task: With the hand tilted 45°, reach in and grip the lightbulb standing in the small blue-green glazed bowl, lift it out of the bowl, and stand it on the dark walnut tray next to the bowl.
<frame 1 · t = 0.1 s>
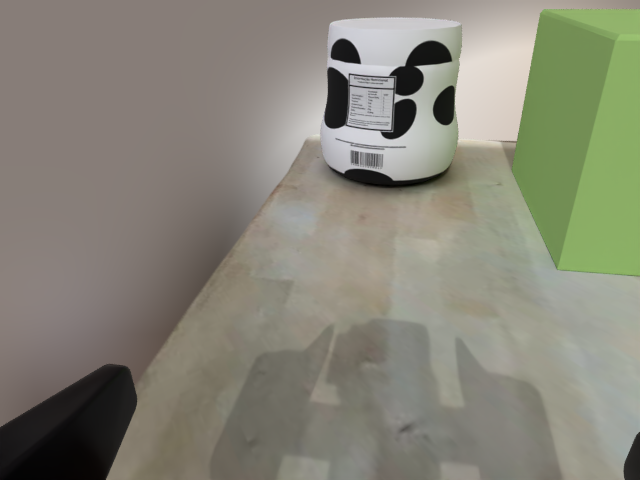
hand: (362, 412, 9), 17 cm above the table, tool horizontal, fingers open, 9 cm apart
milk container: (385, 171, 66), on the table
canister: (634, 218, 53), on the table
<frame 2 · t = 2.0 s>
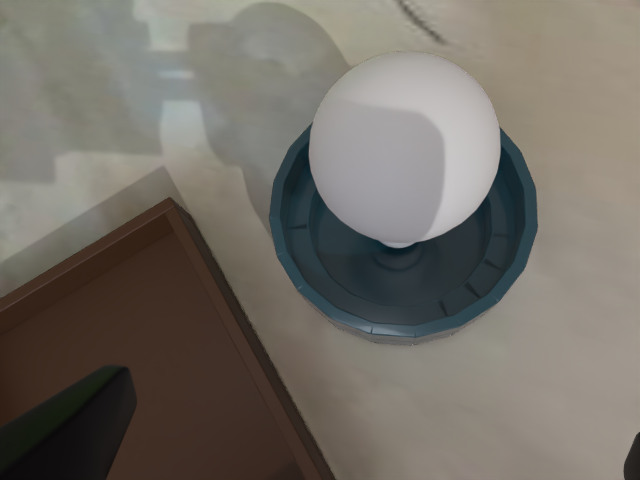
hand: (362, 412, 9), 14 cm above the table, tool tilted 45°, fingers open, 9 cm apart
bowl: (397, 229, 24), on the table
tray: (141, 426, 23), on the table
lightbulb: (397, 229, 24), resting on bowl
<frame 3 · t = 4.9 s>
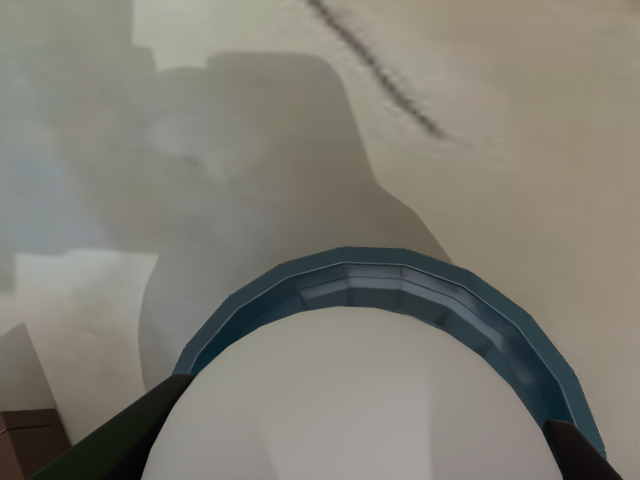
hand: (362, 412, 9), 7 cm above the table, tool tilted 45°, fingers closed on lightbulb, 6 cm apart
bowl: (369, 451, 15), on the table
lightbulb: (368, 451, 15), resting on bowl, touching gripper
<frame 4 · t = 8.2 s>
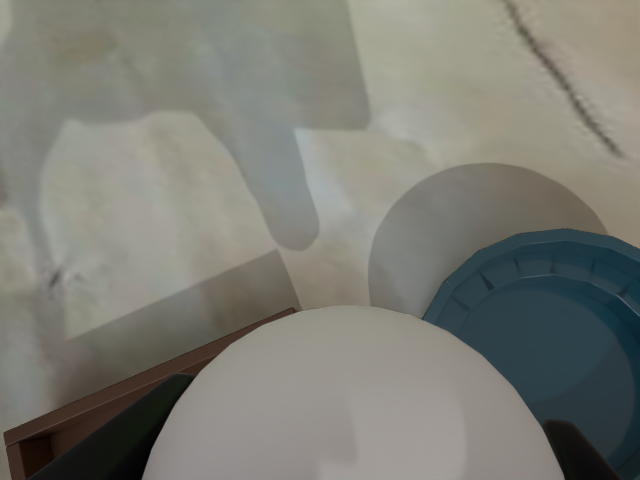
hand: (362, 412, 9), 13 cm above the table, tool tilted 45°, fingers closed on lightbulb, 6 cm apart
bowl: (544, 379, 21), on the table
lightbulb: (369, 450, 15), point 6 cm above the table, touching gripper
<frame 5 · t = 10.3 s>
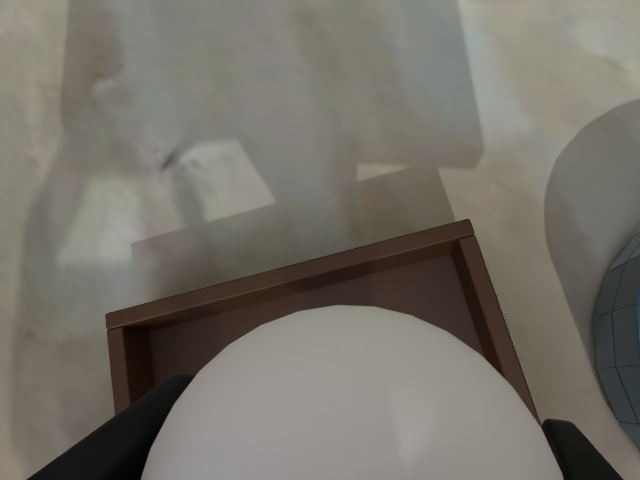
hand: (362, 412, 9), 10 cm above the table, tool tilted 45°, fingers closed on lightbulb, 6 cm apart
lightbulb: (368, 450, 15), point 3 cm above the table, touching gripper
when the fingers open (7 cm above the table, at t = 11.5 s): lightbulb stays where it is, resting on tray.
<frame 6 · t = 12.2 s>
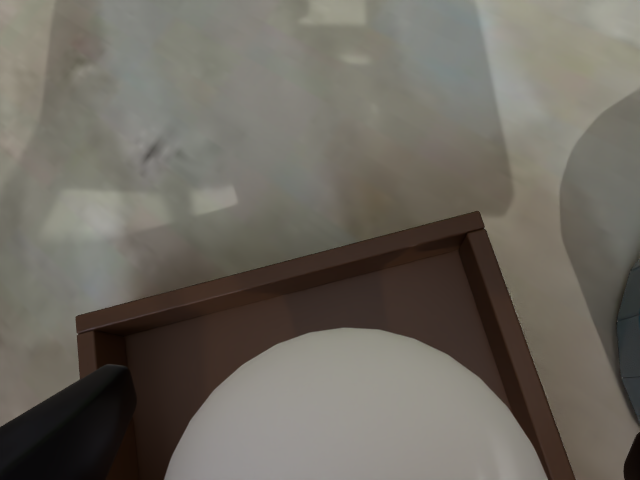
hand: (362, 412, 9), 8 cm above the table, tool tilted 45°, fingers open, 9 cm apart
lightbulb: (369, 457, 16), resting on tray
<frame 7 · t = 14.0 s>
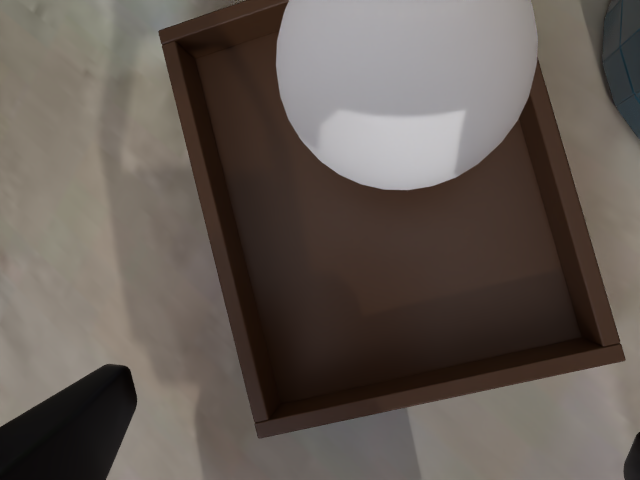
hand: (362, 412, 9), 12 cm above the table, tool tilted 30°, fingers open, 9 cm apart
tray: (376, 190, 21), on the table
lightbulb: (398, 138, 20), resting on tray
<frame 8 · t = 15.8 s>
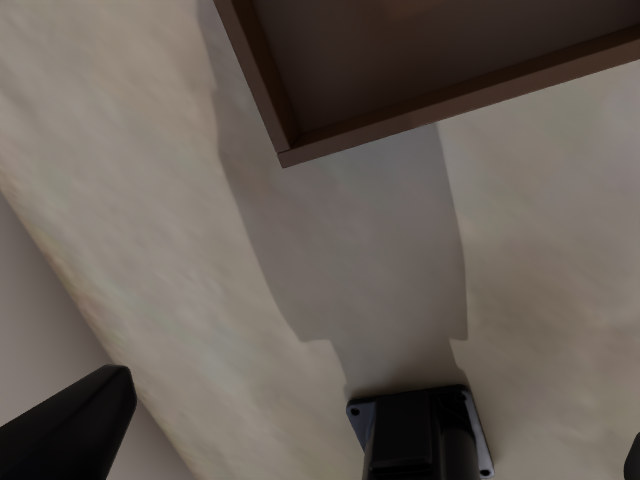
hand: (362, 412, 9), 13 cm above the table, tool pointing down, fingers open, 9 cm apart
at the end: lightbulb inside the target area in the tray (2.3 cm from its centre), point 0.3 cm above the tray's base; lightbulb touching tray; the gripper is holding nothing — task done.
